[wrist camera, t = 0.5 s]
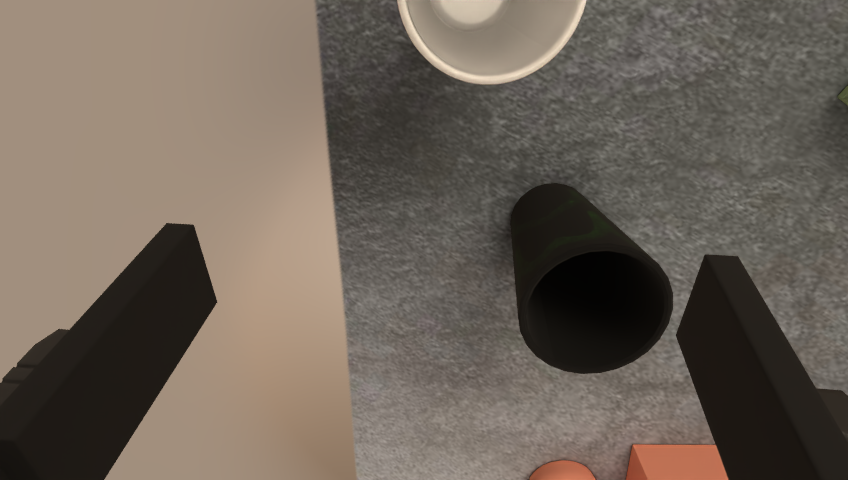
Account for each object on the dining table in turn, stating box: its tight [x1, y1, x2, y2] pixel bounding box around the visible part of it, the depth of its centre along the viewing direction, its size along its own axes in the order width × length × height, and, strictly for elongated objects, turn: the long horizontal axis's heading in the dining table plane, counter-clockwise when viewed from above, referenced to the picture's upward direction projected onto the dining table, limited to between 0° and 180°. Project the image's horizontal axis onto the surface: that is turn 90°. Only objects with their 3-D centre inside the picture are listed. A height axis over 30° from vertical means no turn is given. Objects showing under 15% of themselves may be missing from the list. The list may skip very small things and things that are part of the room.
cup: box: [510, 183, 673, 374], centre depth 33 cm, size 8×8×12 cm
